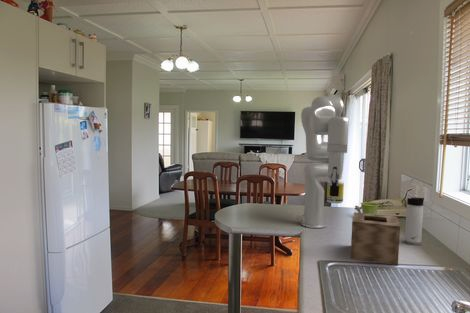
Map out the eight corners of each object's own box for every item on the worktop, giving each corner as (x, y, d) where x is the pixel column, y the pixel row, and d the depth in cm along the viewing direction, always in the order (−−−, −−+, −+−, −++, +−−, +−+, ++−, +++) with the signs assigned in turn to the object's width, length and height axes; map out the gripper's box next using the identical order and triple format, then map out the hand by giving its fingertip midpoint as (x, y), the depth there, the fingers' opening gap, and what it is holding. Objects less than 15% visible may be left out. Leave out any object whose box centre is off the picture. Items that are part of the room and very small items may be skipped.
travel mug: (415, 246, 146) (418, 198, 144) (401, 241, 152) (404, 196, 150) (425, 244, 149) (427, 197, 147) (411, 239, 154) (413, 195, 153)
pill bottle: (343, 201, 139) (344, 173, 138) (342, 204, 133) (344, 175, 132) (327, 199, 141) (328, 172, 140) (325, 202, 135) (327, 174, 134)
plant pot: (372, 222, 183) (373, 206, 183) (356, 218, 191) (357, 203, 190) (381, 220, 189) (382, 204, 189) (365, 216, 197) (366, 201, 196)
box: (350, 258, 129) (352, 221, 128) (352, 245, 144) (354, 212, 143) (397, 265, 124) (400, 226, 123) (395, 251, 139) (397, 216, 138)
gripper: (329, 147, 145) (327, 190, 146) (324, 149, 129) (322, 197, 130) (348, 148, 142) (346, 191, 144) (345, 150, 126) (343, 199, 127)
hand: (335, 194), depth 137 cm, fingers closed on pill bottle, 6 cm apart
